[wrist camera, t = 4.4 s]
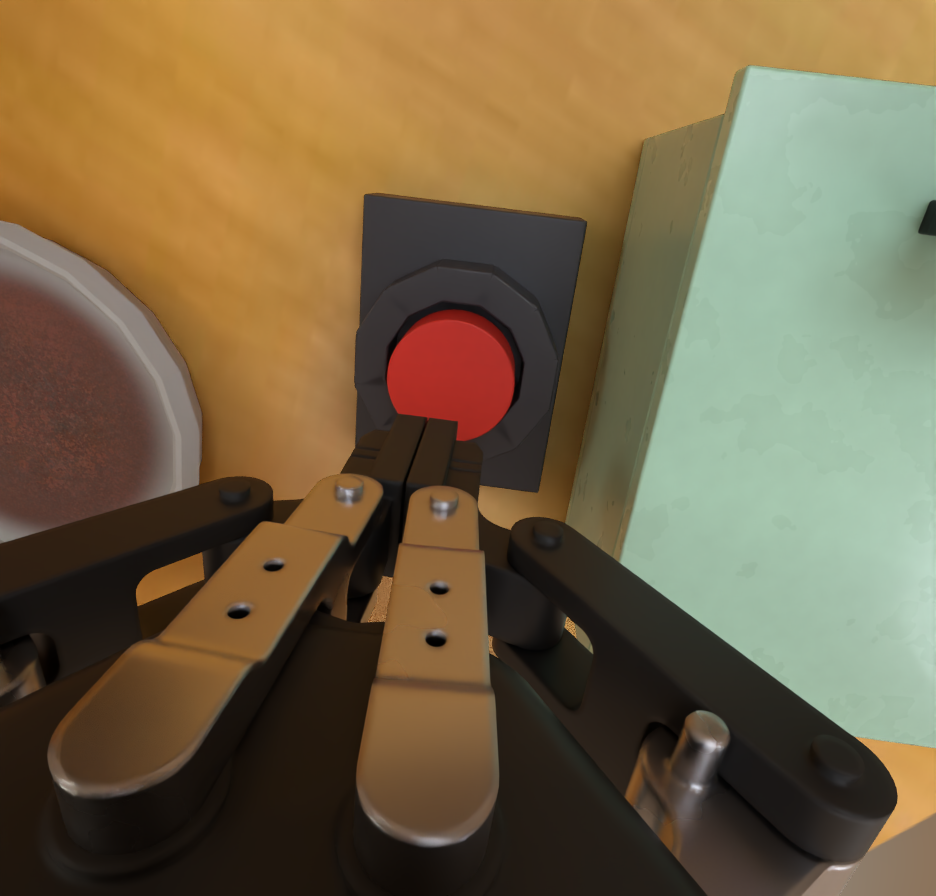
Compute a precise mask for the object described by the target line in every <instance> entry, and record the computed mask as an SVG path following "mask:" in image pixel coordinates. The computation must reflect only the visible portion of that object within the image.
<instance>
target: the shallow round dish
mask: <svg viewBox="0 0 936 896" xmlns="http://www.w3.org/2000/svg"><path fill="white" fill-rule="evenodd" d="M201 461H202V412H201V409H200V405H199V402H198V399H197V396H196V393H195V390H194V387H193V384H192V380H191V377H190V374H189V371H188V368H187V365H186V362H185V361H184V359H183V358H182V356H181V355H180V353H179V352H178V350H177V349H176V347H175V345H174V344H173V342H172V341H171V339H170V338H169V336H168V335H167V333H166V332H165V330H164V329H163V327H162V326H161V324H160V323H159V321H158V319H157V318H156V316H155V315H154V313H153V312H152V311H151V310H149V309H148V308H147V307H146V306H145V305H144V304H143V303H142V302H141V301H140V300H139V299H138V298H136V297H135V296H134V295H133V294H132V293H131V292H130V291H129V290H128V289H127V288H126V287H124V286H123V285H122V284H121V283H120V282H119V281H118V280H117V279H116V278H115V277H114V276H113V275H111V274H110V273H109V272H108V271H107V270H106V269H104V268H102V267H100V266H98V265H96V264H94V263H93V262H91V261H89V260H87V259H85V258H83V257H81V256H79V255H78V254H76V253H74V252H72V251H70V250H68V249H66V248H65V247H63V246H61V245H59V244H57V243H55V242H53V241H52V240H48V239H44V238H42V237H40V236H38V235H37V234H35V233H33V232H31V231H29V230H27V229H25V228H24V227H22V226H20V225H18V224H13V223H9V222H4V221H0V544H1V543H4V542H7V541H11V540H14V539H18V538H21V537H24V536H28V535H31V534H34V533H38V532H41V531H45V530H48V529H51V528H55V527H58V526H62V525H65V524H68V523H72V522H75V521H79V520H82V519H85V518H89V517H92V516H95V515H99V514H102V513H106V512H109V511H112V510H116V509H119V508H123V507H126V506H129V505H133V504H136V503H140V502H143V501H146V500H150V499H153V498H156V497H160V496H163V495H167V494H170V493H173V492H177V491H180V490H184V489H187V488H190V487H194V486H197V485H199V466H200V463H201Z"/></svg>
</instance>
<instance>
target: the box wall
mask: <svg viewBox="0 0 936 896" xmlns="http://www.w3.org/2000/svg"><path fill="white" fill-rule="evenodd" d="M724 115H725V114H722V115H719V116H716V117H713V118H710V119H707V120H704V121H700V122H697V123H694V124H691V125H688V126H685V127H682V128H679V129H675V130H672V131H669V132H666V133H663V134H660V135H657V136H653V137H650V138H647V139H645V140H644V144H643V149H642V153H641V158H640V163H639V168H638V173H637V178H636V182H635V187H634V192H633V197H632V202H631V207H630V211H629V216H628V221H627V226H626V231H625V236H624V240H623V245H622V250H621V255H620V260H619V265H618V269H617V274H616V279H615V284H614V289H613V294H612V298H611V303H610V308H609V313H608V318H607V323H606V327H605V332H604V337H603V342H602V347H601V352H600V357H599V361H598V366H597V371H596V376H595V381H594V386H593V390H592V395H591V400H590V405H589V410H588V415H587V419H586V424H585V429H584V434H583V439H582V444H581V448H580V453H579V458H578V463H577V468H576V473H575V477H574V482H573V487H572V492H571V497H570V502H569V506H568V511H567V516H566V521H565V524H567V525H569V526H571V527H572V528H574V529H575V530H576V531H578V532H579V533H580V534H582V535H583V536H584V537H586V538H587V539H588V540H590V541H591V542H592V543H594V544H595V545H596V546H598V547H599V548H600V549H602V550H603V551H605V552H606V553H607V554H609V555H610V556H611V557H613V555H614V551H615V547H616V543H617V539H618V535H619V531H620V527H621V523H622V519H623V515H624V511H625V507H626V503H627V500H628V496H629V492H630V488H631V484H632V480H633V476H634V472H635V468H636V464H637V460H638V456H639V452H640V448H641V444H642V440H643V436H644V432H645V428H646V424H647V420H648V416H649V412H650V408H651V404H652V401H653V397H654V393H655V389H656V385H657V381H658V377H659V373H660V369H661V365H662V361H663V357H664V353H665V349H666V345H667V341H668V337H669V333H670V329H671V325H672V321H673V317H674V313H675V309H676V305H677V301H678V298H679V294H680V290H681V286H682V282H683V278H684V274H685V270H686V266H687V262H688V258H689V254H690V250H691V246H692V242H693V238H694V234H695V230H696V226H697V222H698V218H699V214H700V210H701V206H702V202H703V199H704V195H705V191H706V187H707V183H708V179H709V175H710V171H711V167H712V163H713V159H714V155H715V151H716V147H717V143H718V139H719V135H720V131H721V127H722V123H723V119H724ZM575 629H576V637H577V640H578V641H579V642H580V643H581V644H583V645H584V646H585V647H586V648H587V649H588V650H590V646H591V642H590V640H589V638H588V637H587V635H586V634H585V632H584V631H583V630H582V629H581V628H580V627H578V626H577V625H576V624H575Z"/></svg>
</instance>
